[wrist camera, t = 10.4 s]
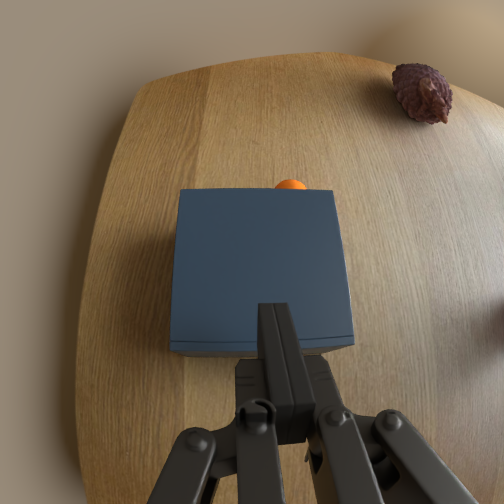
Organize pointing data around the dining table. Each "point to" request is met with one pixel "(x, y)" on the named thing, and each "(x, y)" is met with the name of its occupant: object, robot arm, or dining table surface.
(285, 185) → the orange ball
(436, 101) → the pine cone
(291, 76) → the dining table surface
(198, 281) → the gray box
